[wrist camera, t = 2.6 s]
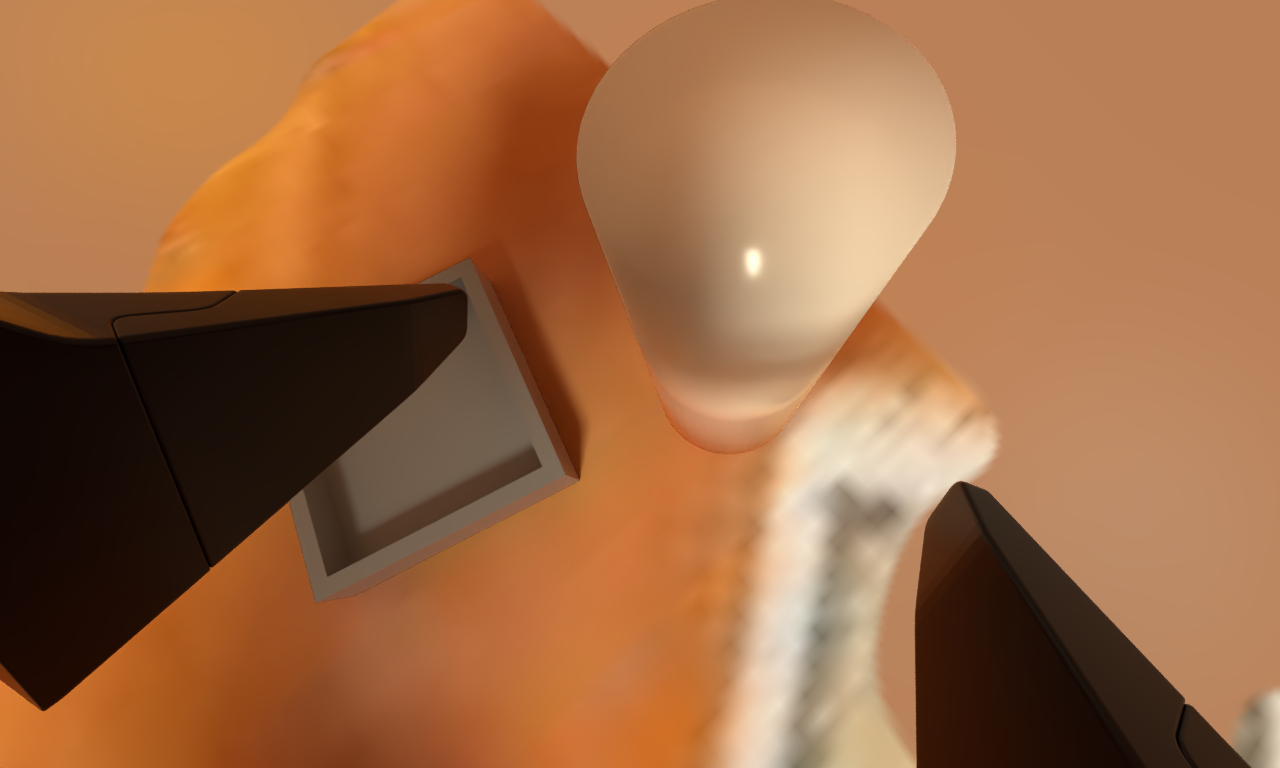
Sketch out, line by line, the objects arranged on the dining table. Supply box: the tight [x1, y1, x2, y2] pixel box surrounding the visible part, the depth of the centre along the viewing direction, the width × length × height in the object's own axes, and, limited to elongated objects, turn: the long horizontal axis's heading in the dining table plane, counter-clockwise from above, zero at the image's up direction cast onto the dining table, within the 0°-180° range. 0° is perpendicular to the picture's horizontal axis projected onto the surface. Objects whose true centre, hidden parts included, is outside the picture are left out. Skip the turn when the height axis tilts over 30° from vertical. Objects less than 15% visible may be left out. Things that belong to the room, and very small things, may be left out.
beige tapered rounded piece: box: [576, 0, 956, 454], centre depth 13 cm, size 5×5×13 cm
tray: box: [289, 258, 580, 603], centre depth 20 cm, size 9×9×2 cm
